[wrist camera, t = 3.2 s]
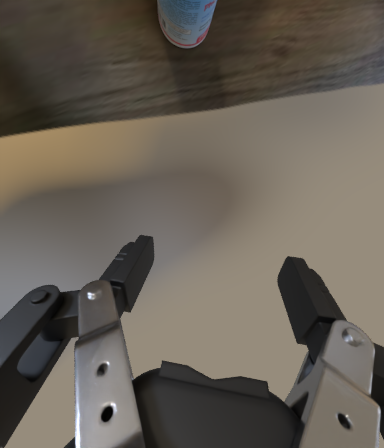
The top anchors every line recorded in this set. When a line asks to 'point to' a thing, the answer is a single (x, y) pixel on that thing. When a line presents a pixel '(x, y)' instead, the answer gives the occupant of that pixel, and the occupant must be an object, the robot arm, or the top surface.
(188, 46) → the pill bottle
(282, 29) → the top surface
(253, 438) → the robot arm
